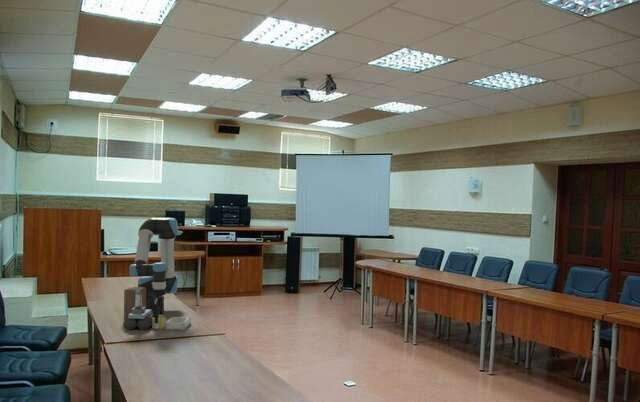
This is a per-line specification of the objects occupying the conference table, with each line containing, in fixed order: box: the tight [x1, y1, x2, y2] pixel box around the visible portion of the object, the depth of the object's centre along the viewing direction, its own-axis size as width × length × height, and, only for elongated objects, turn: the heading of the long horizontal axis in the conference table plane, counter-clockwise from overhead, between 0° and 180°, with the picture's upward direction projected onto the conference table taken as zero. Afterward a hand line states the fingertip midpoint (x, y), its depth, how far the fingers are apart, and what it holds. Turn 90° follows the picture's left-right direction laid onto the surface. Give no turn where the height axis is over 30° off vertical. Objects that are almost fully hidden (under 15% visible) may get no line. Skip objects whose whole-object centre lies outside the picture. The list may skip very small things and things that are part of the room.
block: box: [123, 286, 146, 322], centre depth 301 cm, size 10×10×20 cm
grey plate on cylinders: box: [123, 307, 153, 331], centre depth 285 cm, size 14×15×12 cm
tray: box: [164, 316, 191, 331], centre depth 288 cm, size 15×12×4 cm
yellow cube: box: [151, 316, 166, 329], centre depth 285 cm, size 5×6×6 cm
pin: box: [135, 290, 142, 309], centre depth 285 cm, size 4×4×13 cm
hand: (158, 326), depth 285 cm, fingers open, 6 cm apart
